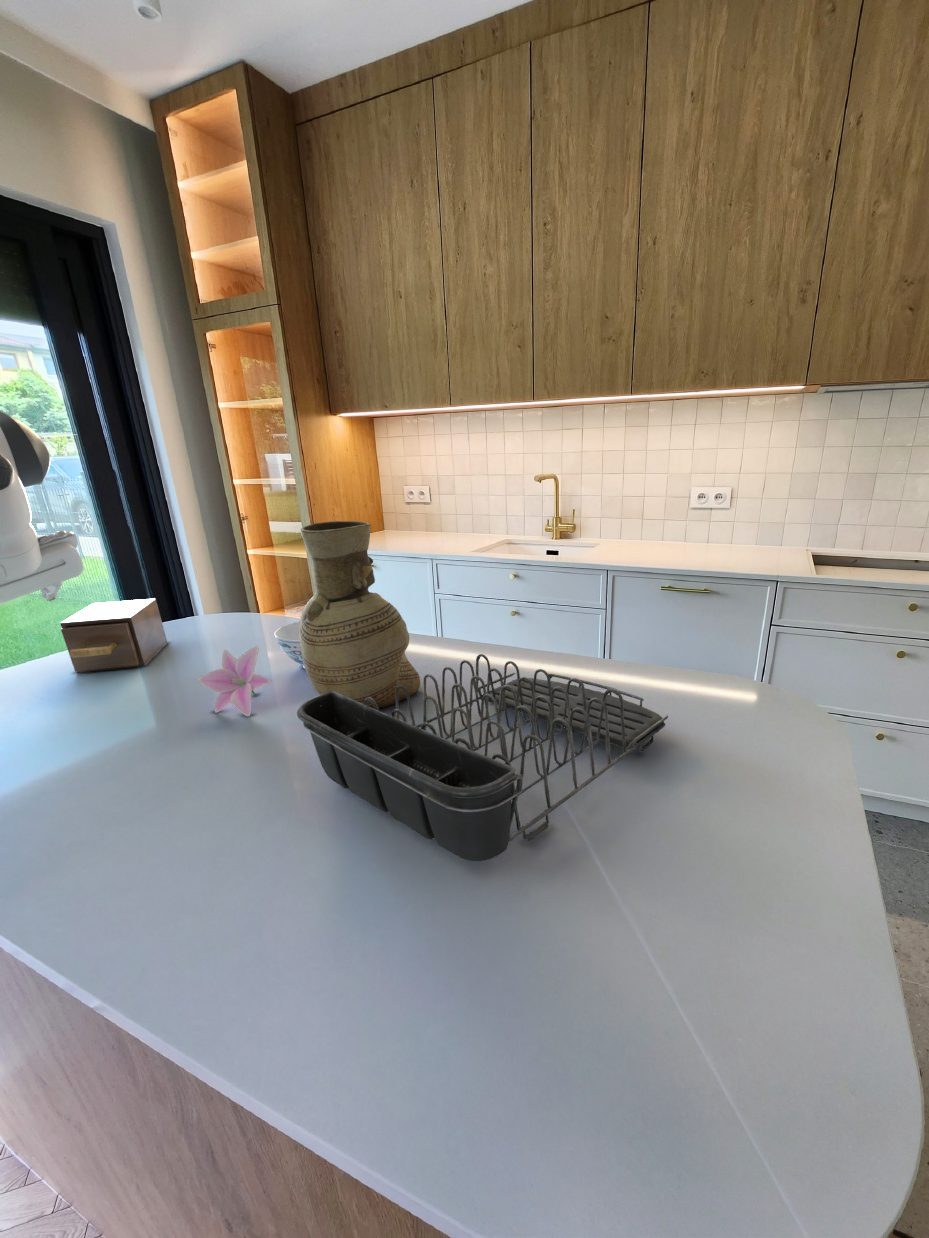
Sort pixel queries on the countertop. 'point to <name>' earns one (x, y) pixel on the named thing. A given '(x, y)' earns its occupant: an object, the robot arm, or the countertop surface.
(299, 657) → the chinaware
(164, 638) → the cabinet
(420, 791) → the dish rack
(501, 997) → the countertop surface
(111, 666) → the drawer
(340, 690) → the ceramic vessel
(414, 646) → the countertop surface
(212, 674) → the lily
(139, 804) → the countertop surface
